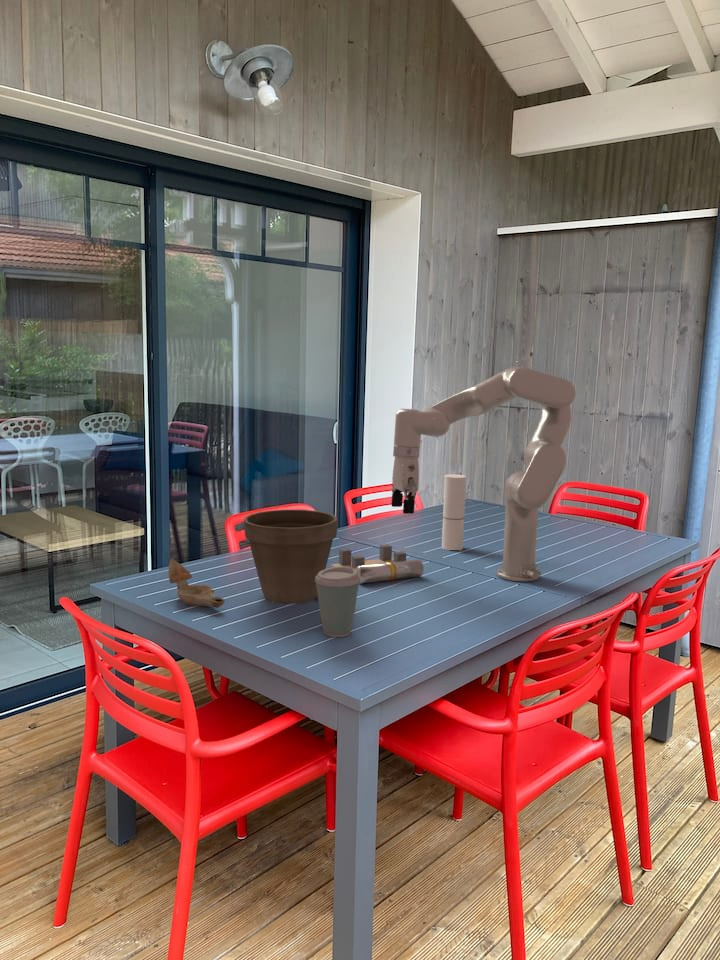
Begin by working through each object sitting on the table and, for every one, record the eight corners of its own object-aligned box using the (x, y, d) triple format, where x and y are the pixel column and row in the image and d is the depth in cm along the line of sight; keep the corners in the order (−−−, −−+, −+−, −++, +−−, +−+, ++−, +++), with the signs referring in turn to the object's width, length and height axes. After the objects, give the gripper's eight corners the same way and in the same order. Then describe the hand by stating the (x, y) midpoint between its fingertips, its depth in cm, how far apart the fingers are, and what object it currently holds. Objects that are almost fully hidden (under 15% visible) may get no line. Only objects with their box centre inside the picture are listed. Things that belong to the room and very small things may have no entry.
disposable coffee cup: (330, 644, 174) (331, 580, 172) (305, 629, 183) (305, 568, 180) (368, 635, 180) (369, 573, 178) (342, 621, 189) (343, 562, 186)
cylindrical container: (462, 546, 267) (465, 474, 263) (463, 551, 260) (466, 478, 256) (441, 545, 267) (444, 473, 263) (441, 550, 260) (444, 477, 256)
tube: (414, 574, 231) (415, 557, 230) (423, 578, 227) (424, 561, 226) (354, 581, 222) (354, 563, 222) (362, 586, 218) (362, 568, 217)
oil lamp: (185, 591, 210) (184, 555, 209) (235, 609, 196) (235, 571, 195) (158, 598, 204) (157, 561, 202) (208, 617, 190) (208, 578, 188)
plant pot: (235, 586, 215) (235, 510, 212) (319, 579, 224) (320, 506, 220) (255, 615, 192) (255, 530, 188) (348, 606, 201) (350, 524, 197)
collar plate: (412, 571, 234) (413, 552, 233) (347, 579, 224) (347, 559, 223) (394, 562, 244) (395, 543, 243) (331, 569, 234) (331, 550, 234)
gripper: (429, 456, 216) (425, 516, 219) (407, 448, 232) (404, 504, 235) (404, 455, 214) (400, 516, 216) (384, 447, 230) (380, 504, 233)
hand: (402, 509), depth 226 cm, fingers open, 9 cm apart
